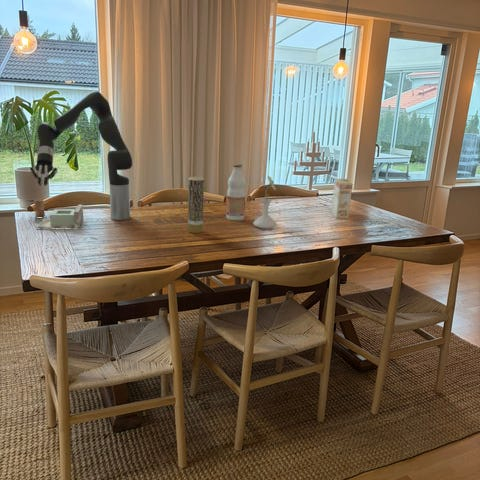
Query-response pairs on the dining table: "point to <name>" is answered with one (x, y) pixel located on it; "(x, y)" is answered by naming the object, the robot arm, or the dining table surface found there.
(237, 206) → the fruit juice
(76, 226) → the backstop board
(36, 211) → the dowel
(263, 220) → the flower in vase
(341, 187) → the coffeecake box
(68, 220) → the socket block
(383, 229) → the dining table surface
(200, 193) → the paper tube
